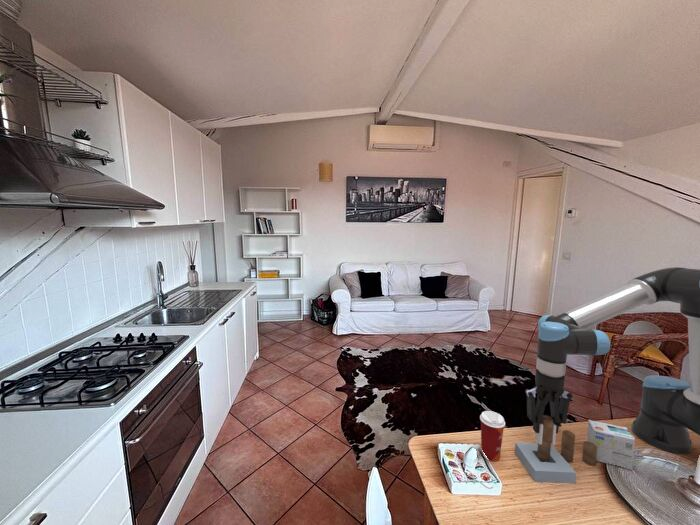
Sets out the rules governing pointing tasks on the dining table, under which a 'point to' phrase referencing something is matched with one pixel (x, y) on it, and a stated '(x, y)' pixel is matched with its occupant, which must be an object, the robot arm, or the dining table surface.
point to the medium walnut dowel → (567, 445)
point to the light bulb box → (612, 443)
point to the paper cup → (491, 434)
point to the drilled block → (545, 464)
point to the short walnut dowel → (589, 453)
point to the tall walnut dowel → (545, 438)
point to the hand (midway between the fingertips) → (544, 441)
